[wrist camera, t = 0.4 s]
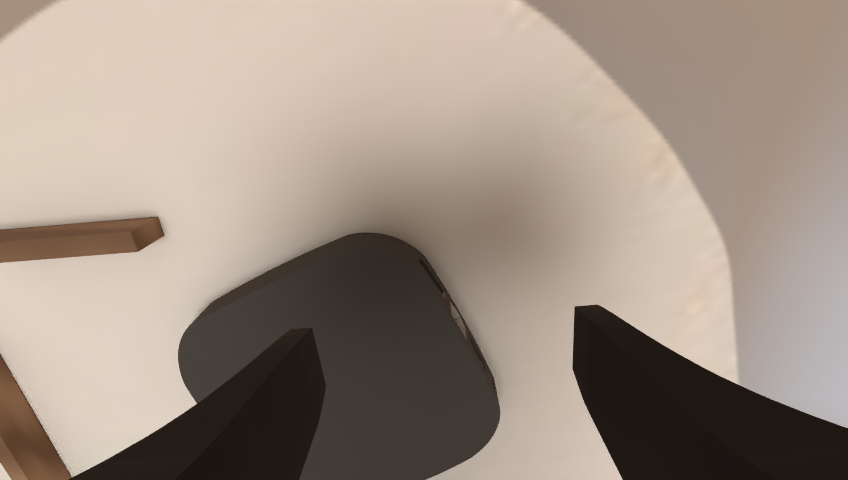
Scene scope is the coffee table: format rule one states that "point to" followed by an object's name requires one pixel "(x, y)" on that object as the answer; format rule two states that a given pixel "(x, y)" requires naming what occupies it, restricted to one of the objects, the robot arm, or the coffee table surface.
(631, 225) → the coffee table surface
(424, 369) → the media streaming box
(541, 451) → the coffee table surface
